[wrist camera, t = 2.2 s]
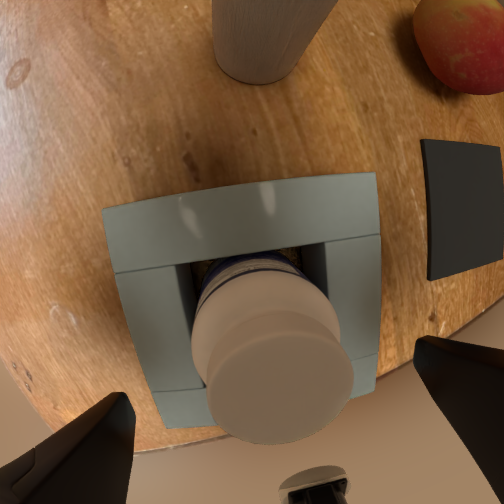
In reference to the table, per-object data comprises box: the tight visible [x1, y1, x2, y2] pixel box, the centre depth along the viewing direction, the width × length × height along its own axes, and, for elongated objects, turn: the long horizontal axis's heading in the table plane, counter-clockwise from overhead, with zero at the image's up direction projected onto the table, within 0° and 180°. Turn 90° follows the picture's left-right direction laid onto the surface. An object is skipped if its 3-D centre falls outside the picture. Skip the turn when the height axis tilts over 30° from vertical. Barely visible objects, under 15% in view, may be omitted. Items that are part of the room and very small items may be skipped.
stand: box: [102, 172, 382, 429], centre depth 14 cm, size 11×11×4 cm
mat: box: [420, 139, 504, 281], centre depth 16 cm, size 9×9×1 cm
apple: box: [413, 0, 504, 95], centre depth 10 cm, size 8×8×8 cm
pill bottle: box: [191, 250, 354, 445], centre depth 11 cm, size 5×5×9 cm
